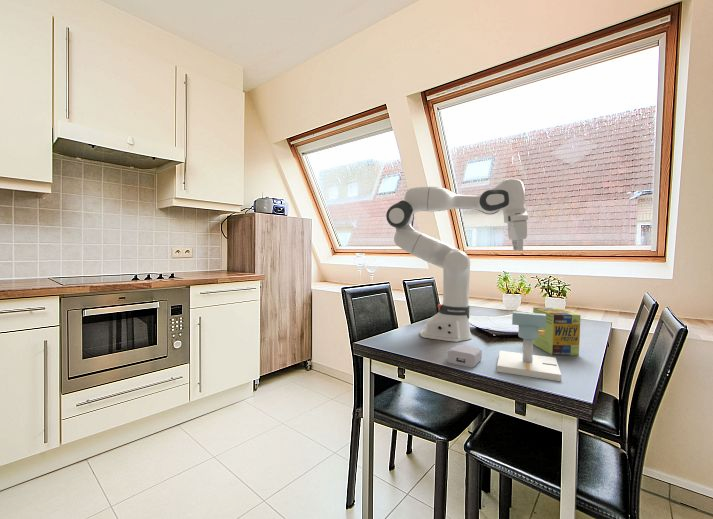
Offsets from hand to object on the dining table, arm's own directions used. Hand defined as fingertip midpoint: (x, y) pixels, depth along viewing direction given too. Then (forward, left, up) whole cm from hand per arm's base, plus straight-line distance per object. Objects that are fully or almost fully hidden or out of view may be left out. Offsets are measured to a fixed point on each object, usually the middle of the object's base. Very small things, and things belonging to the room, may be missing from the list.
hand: (518, 250), depth 145 cm
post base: (-2, -32, -39) cm, 50 cm away
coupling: (-2, -32, -29) cm, 43 cm away
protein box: (+13, -6, -39) cm, 42 cm away
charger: (-21, -29, -40) cm, 53 cm away
